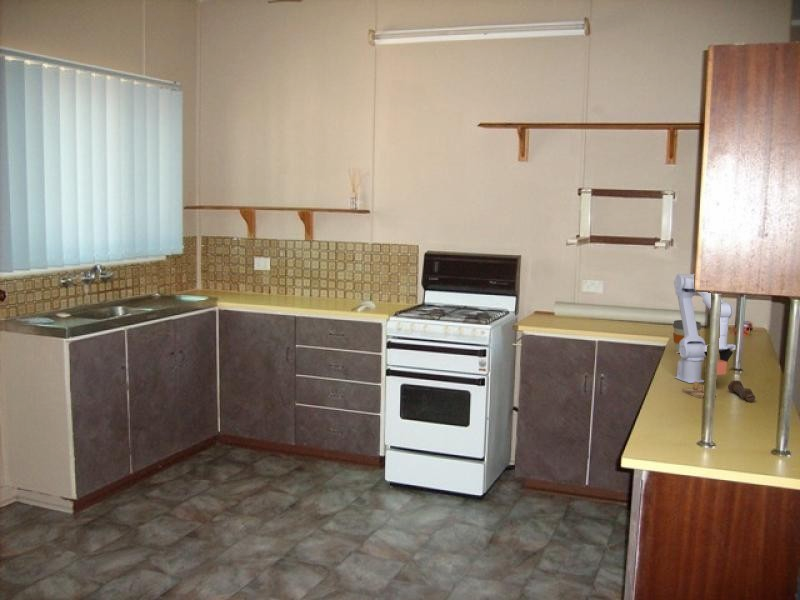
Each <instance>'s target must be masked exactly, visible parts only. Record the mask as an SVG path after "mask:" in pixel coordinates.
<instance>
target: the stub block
mask: <svg viewBox="0 0 800 600" xmlns="http://www.w3.org/2000/svg"><path fill="white" fill-rule="evenodd" d="M704 385H705V384H702V385H701V386H702V387H699V383H698V382H694V383H693V387H688V388H682V390H681V391H682V393H685V394H687V395H690V396H692V395H693V397H695V398H697V397H698V399H704V398H703V395H704ZM715 398H718V393H716V397H715Z"/></svg>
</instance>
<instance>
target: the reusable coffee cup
mask: <svg viewBox="0 0 800 600" xmlns="http://www.w3.org/2000/svg"><path fill="white" fill-rule="evenodd" d="M695 321H696V326H697V332H698V335H699V336H700V337H701V334H700V331H701V330H702V324H701V322H700V321H697V320H695ZM672 327H673V332H672V333H673V334H672V335H673V338H672V339H673V343H674V351H676V352H678V353H679V348H680V344H679V342H680V341H681V340H682V339H683V338H684V337H685V336H684V330H683V324H682V319H677V320H676V319H675V320H674V321H673V326H672ZM678 353H677V354H678Z"/></svg>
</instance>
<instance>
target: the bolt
mask: <svg viewBox="0 0 800 600" xmlns="http://www.w3.org/2000/svg"><path fill="white" fill-rule="evenodd" d="M727 388H728V390H729V393H730V394H735V393H737V395H738V396H739V398H740V399H741V400H742V401H747V402H749V403H751V402H754V401H755V400H756V395H755V394H754V393H753V391H752V389H751V388H746V387H744V385H743V384H742V381H740V380H736V379H735V380H731V381H730V382H729V383H728V385H727Z"/></svg>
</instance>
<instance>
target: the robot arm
mask: <svg viewBox="0 0 800 600" xmlns="http://www.w3.org/2000/svg"><path fill="white" fill-rule="evenodd" d="M695 274H696V273H686V274H685V273H683V274H682V273H678V274H676V276H675V278H674V281H673V286H674V290H675V296H677V300H678V306H679V307H678V308H679V311H680V317H681V319H680V320H682V324H683V330H684V336H685V337H684V338H683V339H682V340H681V341H680V342H679V344H680V348H679V353H680V354H679V355H680V358H679V359H678V361H677V368H676V376H674V378H675V379H677V380H680V381H682V382H685V383H688V384H694V382H698V384H699V383H705V382H704V381H705V380H704V379H702V367H703V361H705V358H707V357H706V356H707V346H708V345H709V344H707V345H706V342H705V338H703V337H702V336H701V335H700V336H699V335H698V332H697V326H696V321H697V320H696V317H695V316H696V315H695V310H694V305H693V301H692V300H693V297H694V296H696V295H697V294H698V295H700V296H701V297H702V302H703V304H704V305H705V307H707V308H708V309H709V310H710V308H711V293H708V292H696V291H695V290H694V275H695ZM733 309H734V308H733V306H732V304H731V303H729V302H724V301H723V300H722V299H721V316H720V338H719V350H718V355H719V359H720V360H723V361H727V363H728V361H729V360H730V358H731V356H732V355H733V354H734V351H735V350H736V348H737V346H736V344H732V343H731V344H730V343H728V336H729V324H730V323H729V321H730V318H732V316H733V314H734V310H733Z"/></svg>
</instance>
